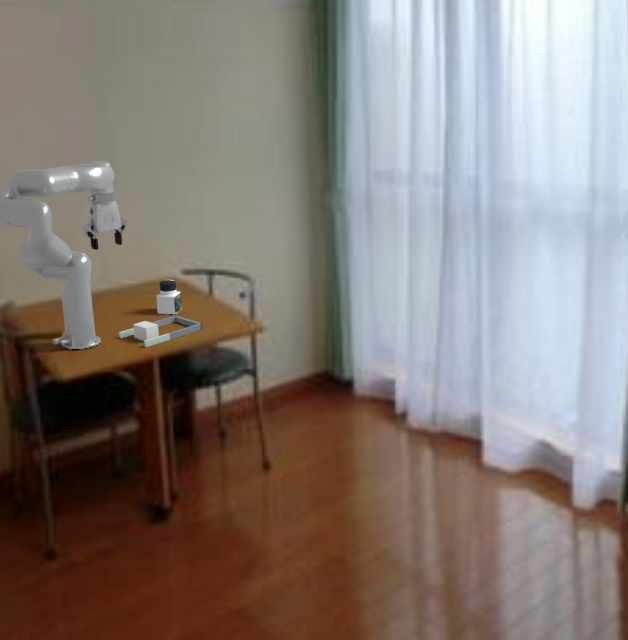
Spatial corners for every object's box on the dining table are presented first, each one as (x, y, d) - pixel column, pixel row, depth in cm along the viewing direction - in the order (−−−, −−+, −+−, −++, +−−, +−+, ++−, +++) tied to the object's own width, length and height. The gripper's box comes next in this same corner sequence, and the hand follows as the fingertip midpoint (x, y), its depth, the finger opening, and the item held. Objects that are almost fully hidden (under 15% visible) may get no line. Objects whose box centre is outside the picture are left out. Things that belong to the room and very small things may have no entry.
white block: (147, 342, 284) (146, 328, 282) (134, 338, 288) (133, 324, 287) (159, 338, 288) (157, 324, 286) (146, 334, 292) (145, 320, 290)
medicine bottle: (175, 315, 312) (173, 283, 309) (157, 314, 314) (154, 283, 310) (182, 309, 319) (180, 278, 315) (164, 308, 320) (162, 278, 317)
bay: (146, 347, 279) (145, 341, 278) (119, 337, 289) (118, 332, 288) (202, 329, 296) (202, 323, 295) (175, 320, 306) (175, 315, 305)
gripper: (86, 202, 281) (91, 252, 286) (129, 195, 293) (133, 244, 299) (74, 200, 286) (79, 249, 291) (117, 193, 298) (121, 241, 303)
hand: (107, 246), depth 295 cm, fingers open, 9 cm apart
